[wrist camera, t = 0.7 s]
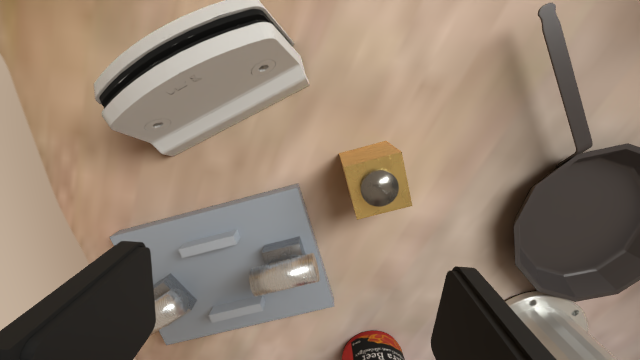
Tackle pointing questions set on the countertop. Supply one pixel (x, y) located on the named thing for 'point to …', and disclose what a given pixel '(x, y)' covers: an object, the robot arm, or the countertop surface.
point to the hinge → (200, 76)
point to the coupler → (376, 179)
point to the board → (231, 261)
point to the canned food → (372, 347)
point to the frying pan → (580, 204)
